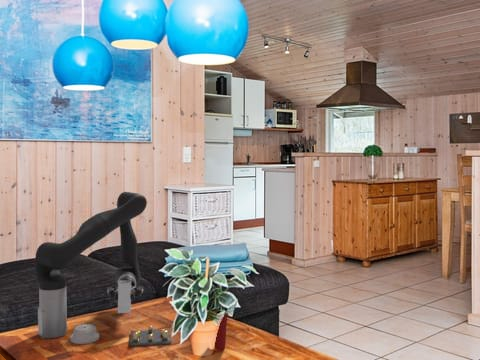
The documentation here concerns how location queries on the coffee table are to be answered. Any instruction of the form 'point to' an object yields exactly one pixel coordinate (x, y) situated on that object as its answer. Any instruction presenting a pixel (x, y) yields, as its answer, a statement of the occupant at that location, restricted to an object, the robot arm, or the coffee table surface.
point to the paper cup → (221, 334)
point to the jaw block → (124, 296)
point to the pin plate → (145, 338)
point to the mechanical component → (84, 334)
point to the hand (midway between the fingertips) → (124, 296)
